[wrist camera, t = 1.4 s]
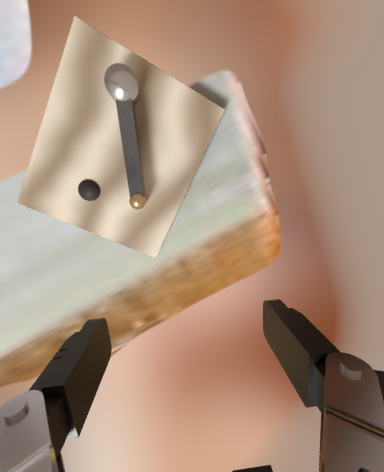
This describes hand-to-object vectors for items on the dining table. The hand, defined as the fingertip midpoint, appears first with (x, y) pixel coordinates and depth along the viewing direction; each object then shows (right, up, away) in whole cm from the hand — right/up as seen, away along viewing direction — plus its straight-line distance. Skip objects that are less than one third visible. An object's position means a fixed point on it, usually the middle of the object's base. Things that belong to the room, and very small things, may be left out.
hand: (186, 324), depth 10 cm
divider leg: (-7, +15, +14) cm, 22 cm away
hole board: (-8, +15, +16) cm, 23 cm away
